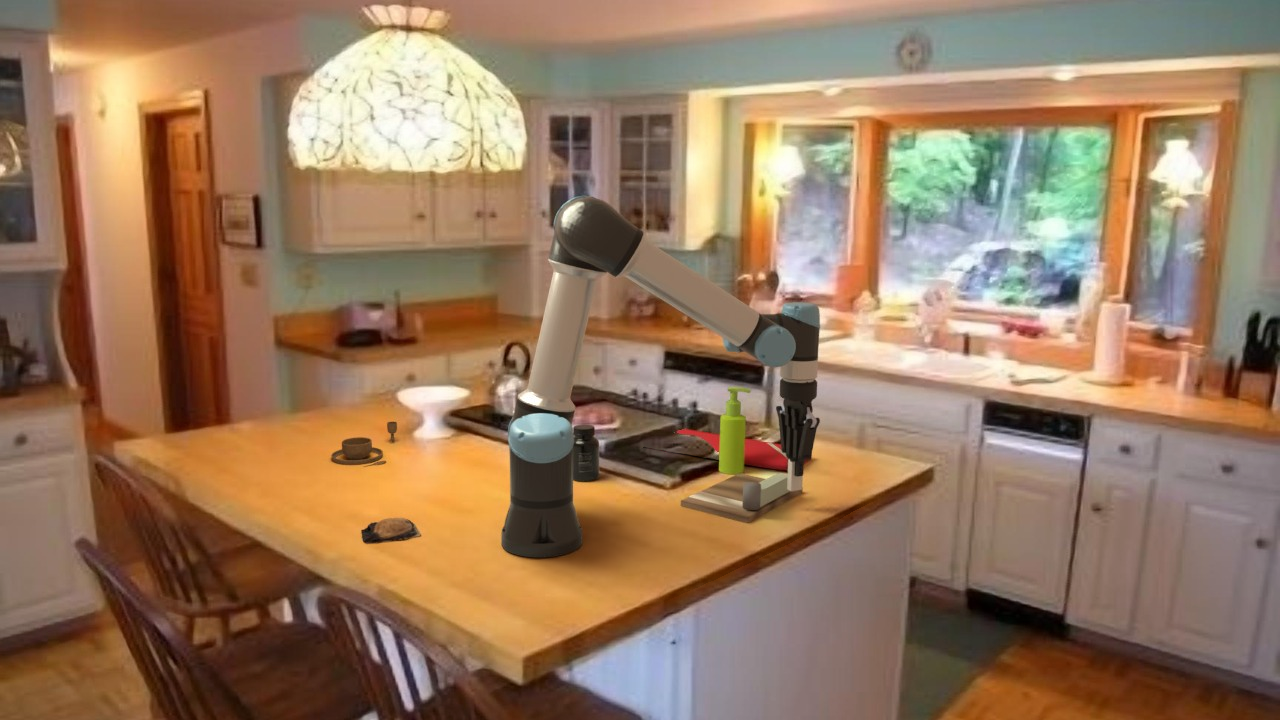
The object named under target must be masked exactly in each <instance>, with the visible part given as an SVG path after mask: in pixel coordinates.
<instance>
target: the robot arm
mask: <svg viewBox="0 0 1280 720" xmlns="http://www.w3.org/2000/svg"><path fill="white" fill-rule="evenodd" d="M551 240H552V241H551V245H550V249H549V254H548V258H547V259H548V262H549V264H550V266H551V267H552V270H553V273H552V276H551V277H552V278H551V280H550V281H551V282H550V286H549V291H548V295H547V299H546V303H545V308H544V313H543V317H542V318H543V319H542V321H541V327H540V330H539V336H538V341H537V344H536V349H535V353H534V358H533V362H532V367H531V370H530V375H529V380H528V384H527V388H526V389H525V390H523V391H521V392H520V393H518V395H517V398H516V403H515V407H514V410H513V411H514V413H513V415H512V417H511V420H510V421H509V423H508V429H507V440H508V446H509V449H508V450H509V492H510V493H509V494H510V497H509V498H510V499H509V500H510V501H509V502H510V503H509V507H508V511H507V513H506V516H505V520H504V523H503V524H504V525H503V526H502V529H501V534H500V536H501V538H500V539H501V543H500V544H501V546H502V549H504V550H505V551H507V552H508V553H511V554H513V555H516V556H519V557H525V558H552V557H553V558H554V557H559V556H565V555H567V554H569V553H573V552H574V551H576V550H577V549H579V548H580V547H581V546H582V544H583V528H582V526H581V524H580V523H579V518H578V515H577V514H578V513H577V511H576V507H575V504H574V480H573V444H574V434H573V432H574V428H573V426H572V425H573V420H574V416H575V412H576V405H575V404H574V403H573V401H572V400H571V395H572V391H573V387H574V383H575V378H576V375H577V374H576V373H577V369H578V365H579V361H580V356H581V352H582V347H583V343H584V340H585V339H584V338H585V334H586V331H587V327H588V321H589V319H590V318H589V317H590V313H591V308H592V305H593V300H594V296H595V292H596V287H597V284H598V283H597V282H598V280H600V279H601V278H603V277H604V276H606V275H607V274H610V275H611V276H612V277H615V278H616V279H618V278H623V277H624V278H626V279H628V280H630V281H631V282H633V283H635V284H636V285H638V286H639V287H641V288H643V289H644V290H646V291H648V292H649V293H650V294H653V296H656V297H657V298H658V299H660V300H662V301H664V302H665V303H666V304H669V306H671V307H673V308H675V309H676V310H678V311H679V312H681V313H683V314H684V315H685V316H688V317H689V318H691V319H692V320H694V321H696V322H697V323H698V324H700V325H702V326H703V327H705V328H706V329H708V330H710V331H711V332H713V333H715V334H717V335H718V336H720V337H721V338H722V345H723V347H724V349H725V351H727V352H731V353H733V352H734V353H739V354H740V353H747V354H748V355H749V356H751V357H753V358H754V359H756V360H757V361H758V362H759V363H761V364H763V365H764V366H767V367H770V368H779V375H780V377H781V379H780V380H779V396H780V398H782V399H783V401H782V404H781V405H776V407H775V410H776V414H777V419H778V427H779V437H780V438H779V439H780V444H781V450H782V452H783V453H786V457H787V458H788V468H787V470H786V471H787V475H788V481H787V489H788V490H790V491H797V490H802V487H803V480H804V479H803V478H804V477H803V476H804V469H805V468H804V466H805V464H804V461H805V460H810V459H811V455H812V456H813V450H814V444H815V438H816V434H817V429H818V427H819V426H820V423H821V420H820V417H815V416H814V414H813V410H814V409H813V406H812V405H813V404H812V402H813V400H816V398H817V396H818V381H817V380H816V379H817V378H818V363H819V362H818V359H819V344H820V343H819V342H820V331H821V330H820V329H821V317H820V308H819V306H818V305H817V304H815V303H811V302H801V301H798V302H797V301H793V302H786V303H784V304H783V305H782V308H781V312H780V313H779V312H778V313H760V312H758V311H757V310H755V309H754V308H752V307H751V306H749V305H748V304H746V303H745V302H743V301H741V300H740V299H738V298H737V297H735V296H734V295H733V294H731V293H729V292H727V291H726V290H724V289H723V288H721V287H720V286H719V285H717V284H715V283H714V282H712V281H711V280H709V279H707V278H705V277H704V276H702V275H701V274H699V273H698V272H697V271H695V270H693V269H692V268H690V267H689V266H687V265H686V264H684V263H682V262H681V261H680V260H678V259H677V258H674V257H673V256H672V255H670V254H668V253H667V252H665V251H664V250H662V249H660V248H659V247H657V246H656V245H654V244H653V243H651V242H650V241H648V240H647V236H646V232H644V231H643V230H642V229H640V228H639V227H637V226H636V225H634V224H633V223H632V222H631V221H629V220H628V219H626V218H625V217H624V216H623V215H622V214H621V213H619V212H618V211H617V209H615V208H614V207H613V206H612V205H611V204H609V203H608V202H607V201H604V200H603V199H600V198H596V197H594V196H590V195H589V196H588V195H581V196H580V195H579V196H575V197H573V198H571V199H569V200H567V201H566V202H565V203H563V204H562V206H560V208H559V210H558V211H557V213H556V215H555V217H554V221H553V237H552V239H551ZM811 460H812V459H811ZM811 460H810V461H811Z"/></svg>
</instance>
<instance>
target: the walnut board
mask: <svg viewBox="0 0 1280 720" xmlns="http://www.w3.org/2000/svg"><path fill="white" fill-rule="evenodd" d="M765 479H766V478H763V477H758V476H755V475H749V474H745V473H739V474H734V475H733V476H730V477H729V478H727V479H726V478H725V479H724V480H722V481H720V482H718V483H715V484H713V485H711V486H709V487H707V488H705V489H702V490H700V491H697V492H695V493H693V494H691V495H689V496H688V497H685V498H683V499H681V500H680V507H684V508H687V509H691V510H696V511H699V512H703V513H707V514H709V515H715V516H718V517H723V518H725V519H730V520H733V521H737V522H742V523H746V524H748V523H750V522H752V521H754V520H756V519H757V518H759V517H761V516H763V515H764V514H766V513H768V512H769V511H772V510H773V509H775V508H777V507H779V506H781V505H782V504H784V503H786V502H788V501H790V500H791V499H794V498H795V497H797V496H799V495H800V494H803V488H804V487H803V486H802V490H797V491H789V492H788V493H786V494H784V495H782V496H780V497H778V498H777V499H775V500H773V501H771V502H769V503H767V504H765V505H764V506H762V507H760V509H758V510H747V509H744V508H743V507H742V505H743V484H744V483H746V482H757V483H759V482H761V481H763V480H765Z"/></svg>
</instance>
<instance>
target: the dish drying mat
mask: <svg viewBox="0 0 1280 720" xmlns="http://www.w3.org/2000/svg"><path fill="white" fill-rule="evenodd" d="M685 429H686V430H685ZM674 433H675V432H674ZM677 433H679V434H686V435H695V436H698V437H701V438H702V439H704V440H706V441H707V442H708V443H710V445H712V447H713V448H714V449H715V450H716V451H717V452H719V447H720V433H714V432H706V431H700V430H695V429H690V428H684V429H682V430H678V431H677ZM812 459H813V454H812V455H811V459H810V460H805V461H804V465H805V464H807V463H808V462H810V461H812ZM744 466H752V467H757V468H763V469H771V470H779V471H780V470H781V471H788V470H787V468H788V458H787V457H786V453H783V452H782V450H781V443H775V442H770V441H762V440H757V439H751V438H745V453H744Z"/></svg>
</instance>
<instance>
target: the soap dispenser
mask: <svg viewBox="0 0 1280 720" xmlns="http://www.w3.org/2000/svg"><path fill="white" fill-rule="evenodd" d="M727 392H730V393H729V399H728V400H727V401H726V402H725V414H721V415H720V421H719V422H720V423H719V434H720V447H719V461H718V471H719V472H720V473H722V474H726V475H737V474H739V473H741V474H744V471H745V465H744V453H745V439H746V425H747V424H746V418H747V417H746V415H743V414H742V413H741V409H742V408H741V407H742V406H741V405H742V402H741V401H739V400H738V395H739V394H738V392H739V393H741V392H742V393H747V394H750V393H751V392H752V389H749V388H746V387H742V386H741V387H740V386H729V387H728V388H727Z"/></svg>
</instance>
